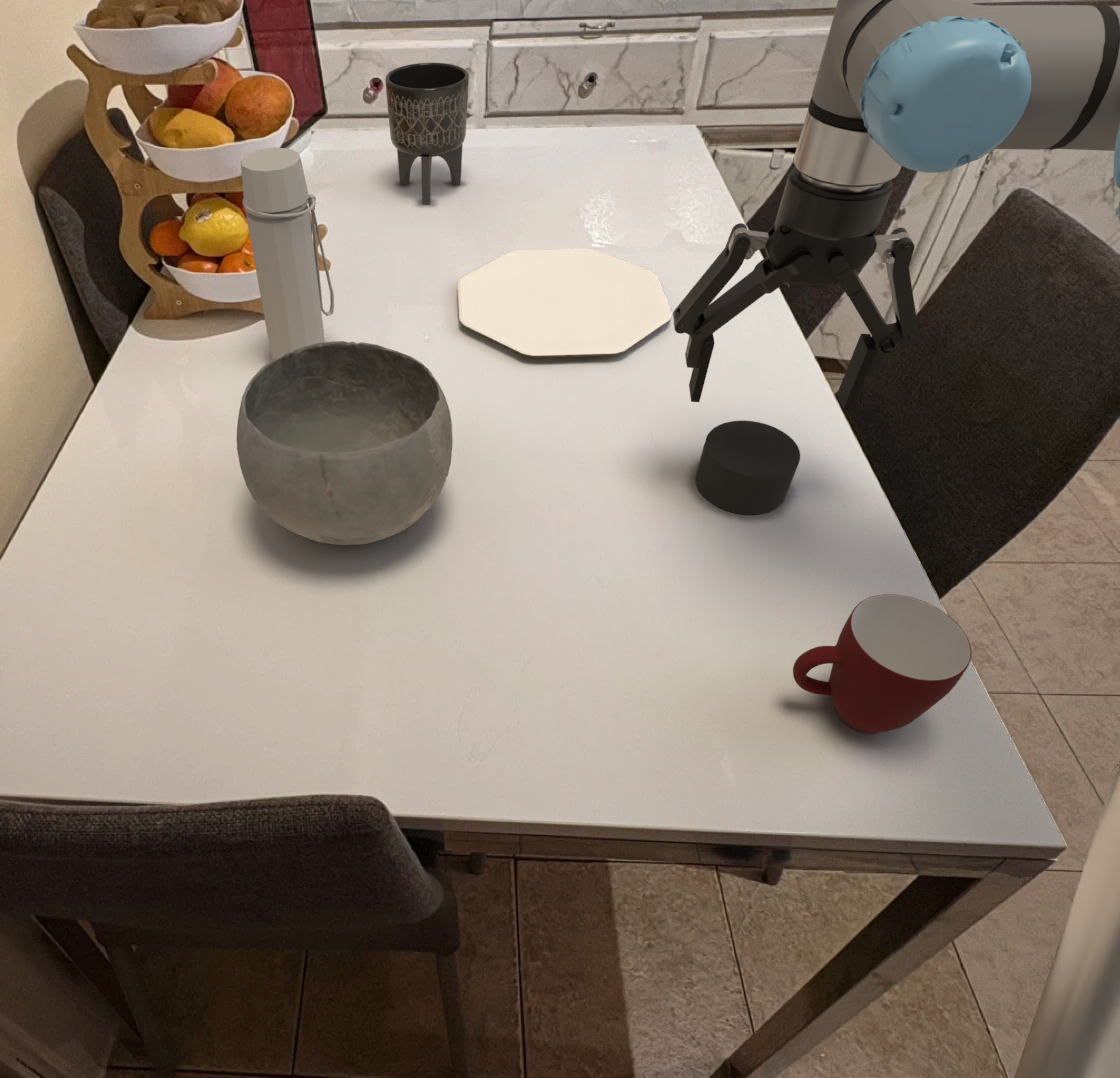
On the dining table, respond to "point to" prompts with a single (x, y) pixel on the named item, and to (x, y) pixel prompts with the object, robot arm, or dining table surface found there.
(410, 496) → the bowl
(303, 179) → the water bottle
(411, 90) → the planter
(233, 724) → the dining table surface
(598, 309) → the plate
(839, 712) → the mug
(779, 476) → the puck
